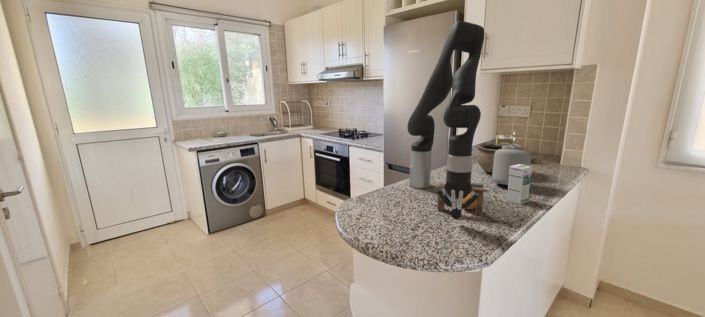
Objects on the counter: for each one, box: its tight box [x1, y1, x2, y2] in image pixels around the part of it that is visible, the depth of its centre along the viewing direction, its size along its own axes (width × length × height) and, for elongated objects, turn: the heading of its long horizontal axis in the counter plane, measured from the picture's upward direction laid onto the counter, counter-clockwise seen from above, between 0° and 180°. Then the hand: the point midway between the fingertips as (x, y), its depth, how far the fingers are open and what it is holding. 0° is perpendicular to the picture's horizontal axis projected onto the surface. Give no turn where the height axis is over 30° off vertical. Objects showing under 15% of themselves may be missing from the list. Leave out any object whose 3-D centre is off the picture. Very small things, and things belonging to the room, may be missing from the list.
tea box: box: [495, 134, 516, 145], centre depth 186 cm, size 15×10×15 cm, turn 157°
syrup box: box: [506, 164, 533, 205], centre depth 115 cm, size 6×6×14 cm
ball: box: [462, 194, 477, 210], centre depth 109 cm, size 6×6×6 cm
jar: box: [491, 130, 532, 186], centre depth 134 cm, size 19×15×25 cm
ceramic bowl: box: [475, 141, 523, 174], centre depth 156 cm, size 22×22×15 cm
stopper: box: [471, 182, 484, 188], centre depth 133 cm, size 14×2×2 cm, turn 65°
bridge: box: [437, 183, 485, 218], centre depth 106 cm, size 3×15×10 cm, turn 65°
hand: (456, 218), depth 97 cm, fingers closed
